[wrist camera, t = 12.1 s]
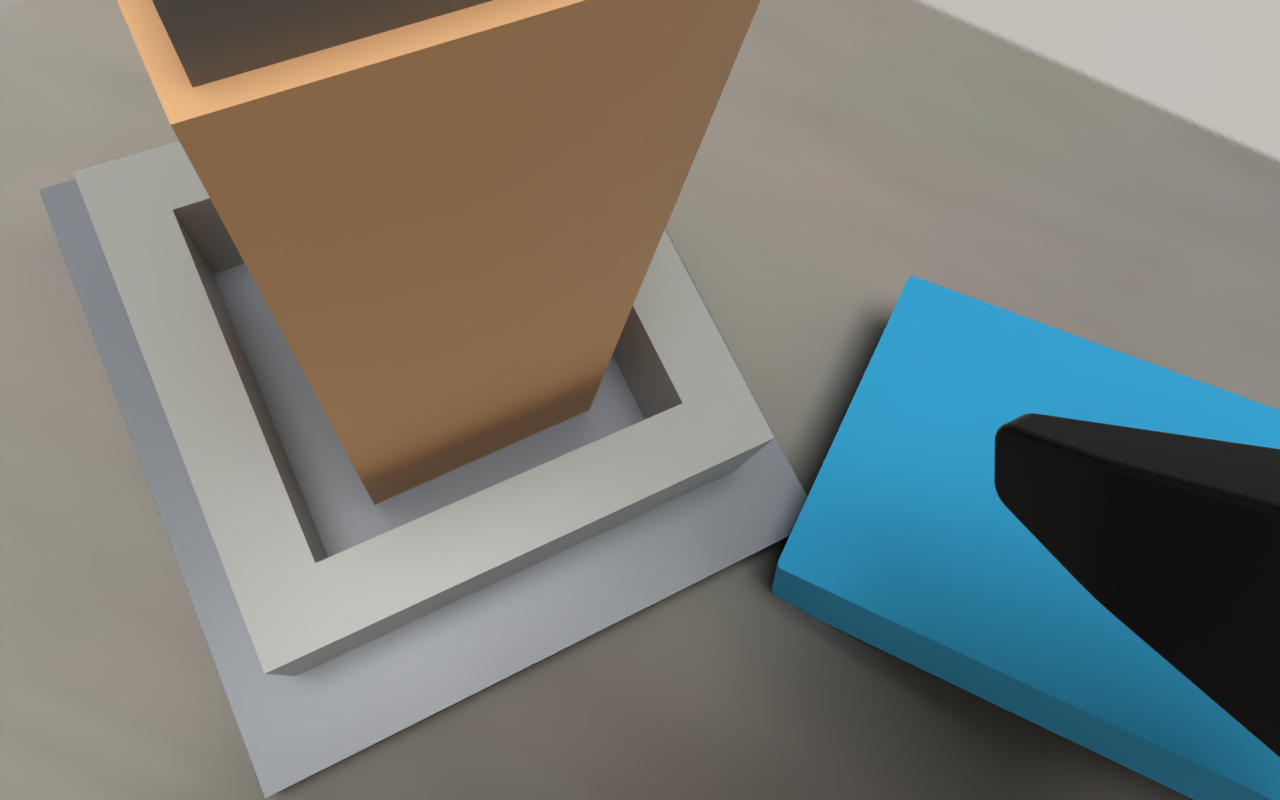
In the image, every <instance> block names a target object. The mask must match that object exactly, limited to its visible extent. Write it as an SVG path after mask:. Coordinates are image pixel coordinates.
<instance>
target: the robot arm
mask: <svg viewBox="0 0 1280 800" xmlns="http://www.w3.org/2000/svg"><path fill="white" fill-rule="evenodd" d="M994 484H995V489H996V492H997V494H998V496H999V498H1000V500H1001V501H1002V503H1003V504H1004V505H1005V506H1006V507H1007V508H1008V509H1009V511H1010V512H1011V513H1012V514H1013V515H1014V516H1015V517H1016V518H1017V519H1018V520H1019V521H1020V522H1021V523H1022V524H1023V525H1024V526H1025V527H1026V528H1027V529H1028V530H1029V531H1030V532H1031V533H1032V534H1033V535H1034V537H1035V538H1036V539H1037V540H1038V541H1039V542H1040V543H1041V544H1042V545H1043V546H1044V547H1045V548H1046V549H1047V550H1048V551H1049V552H1050V553H1051V554H1052V555H1053V556H1054V557H1055V558H1056V559H1057V560H1058V561H1059V562H1060V564H1061V565H1062V566H1063V567H1064V568H1065V569H1066V570H1067V571H1068V572H1069V573H1070V574H1071V575H1072V576H1073V577H1074V578H1075V579H1076V580H1077V581H1078V582H1079V583H1080V584H1081V585H1082V586H1083V587H1084V588H1085V589H1086V590H1087V591H1088V592H1089V593H1090V594H1091V595H1092V596H1093V597H1094V598H1095V599H1096V600H1097V601H1098V602H1099V603H1100V604H1102V605H1103V606H1104V607H1105V608H1106V609H1107V610H1108V611H1109V612H1110V613H1112V614H1113V615H1114V616H1115V617H1116V618H1117V619H1119V620H1120V621H1121V622H1122V623H1123V624H1124V625H1126V626H1127V627H1128V628H1129V629H1130V630H1131V631H1133V632H1134V633H1135V634H1136V635H1137V636H1138V637H1140V638H1141V639H1142V640H1143V641H1144V642H1145V643H1147V644H1148V645H1149V646H1150V647H1151V648H1152V649H1154V650H1155V651H1156V652H1157V653H1158V654H1159V655H1161V656H1162V657H1163V658H1164V659H1165V660H1166V661H1168V662H1169V663H1170V664H1171V665H1172V666H1173V667H1175V668H1176V669H1177V670H1178V671H1179V672H1180V673H1182V674H1183V675H1184V676H1185V677H1186V678H1187V679H1189V680H1190V681H1191V682H1192V683H1193V684H1194V685H1196V686H1197V687H1198V688H1199V689H1200V690H1201V691H1203V692H1204V693H1205V694H1206V695H1207V696H1208V697H1210V698H1211V699H1212V700H1213V701H1214V702H1215V703H1217V704H1218V705H1219V706H1220V707H1221V708H1222V709H1224V710H1225V711H1226V712H1227V713H1228V714H1229V715H1231V716H1232V717H1233V718H1234V719H1235V720H1236V721H1238V722H1239V723H1240V724H1241V725H1242V726H1243V727H1245V728H1246V729H1247V730H1248V731H1249V732H1250V733H1252V734H1253V735H1254V736H1255V737H1256V738H1257V739H1259V740H1260V741H1261V742H1262V743H1263V744H1264V745H1266V746H1267V747H1268V748H1269V749H1270V750H1271V751H1273V752H1274V753H1275V754H1276V755H1277V756H1278V757H1280V449H1276V448H1269V447H1262V446H1255V445H1249V444H1242V443H1235V442H1228V441H1221V440H1214V439H1207V438H1200V437H1194V436H1187V435H1180V434H1173V433H1166V432H1159V431H1152V430H1146V429H1139V428H1132V427H1125V426H1118V425H1111V424H1104V423H1098V422H1091V421H1084V420H1077V419H1070V418H1063V417H1057V416H1050V415H1043V414H1036V413H1028V414H1024V415H1022V416H1020V417H1018V418H1016V419H1014V420H1012V421H1010V422H1008V423H1006V424H1004V425H1002V426H1001V427H999V428H998V430H997V432H996V434H995V451H994Z"/></svg>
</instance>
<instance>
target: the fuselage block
mask: <svg viewBox="0 0 1280 800" xmlns="http://www.w3.org/2000/svg"><path fill="white" fill-rule="evenodd" d="M117 2H118V4H119V7H120V9H121V11H122V14H123V16H124V18H125V21H126V23H127V25H128V27H129V30H130V32H131V34H132V37H133V39H134V41H135V44H136V46H137V48H138V51H139V53H140V55H141V57H142V60H143V62H144V64H145V67H146V69H147V71H148V74H149V76H150V78H151V80H152V83H153V85H154V87H155V90H156V92H157V94H158V97H159V99H160V101H161V104H162V106H163V108H164V110H165V113H166V115H167V117H168V120H169V122H170V124H171V126H172V128H173V130H174V132H175V134H176V136H177V137H178V139H179V141H180V143H181V145H182V147H183V149H184V150H185V152H186V154H187V156H188V158H189V160H190V162H191V164H192V165H193V167H194V169H195V171H196V173H197V175H198V177H199V178H200V180H201V182H202V184H203V186H204V188H205V190H206V192H207V193H208V195H209V197H210V199H211V201H212V203H213V205H214V206H215V208H216V210H217V212H218V214H219V216H220V218H221V220H222V221H223V223H224V225H225V227H226V229H227V231H228V233H229V234H230V236H231V238H232V240H233V242H234V244H235V246H236V248H237V249H238V251H239V253H240V255H241V257H242V259H243V261H244V262H245V264H246V266H247V268H248V270H249V272H250V274H251V276H252V277H253V279H254V281H255V283H256V285H257V287H258V289H259V290H260V292H261V294H262V296H263V298H264V300H265V302H266V304H267V305H268V307H269V309H270V311H271V313H272V315H273V317H274V318H275V320H276V322H277V324H278V326H279V328H280V330H281V332H282V333H283V335H284V337H285V339H286V341H287V343H288V345H289V346H290V348H291V350H292V352H293V354H294V356H295V358H296V360H297V361H298V363H299V365H300V367H301V369H302V371H303V373H304V374H305V376H306V378H307V380H308V382H309V384H310V386H311V388H312V389H313V391H314V393H315V395H316V397H317V399H318V401H319V403H320V404H321V406H322V408H323V410H324V412H325V414H326V416H327V417H328V419H329V421H330V423H331V425H332V427H333V429H334V431H335V432H336V434H337V436H338V438H339V440H340V442H341V444H342V445H343V447H344V449H345V451H346V453H347V455H348V457H349V459H350V460H351V462H352V464H353V466H354V468H355V470H356V472H357V473H358V475H359V477H360V479H361V481H362V483H363V485H364V487H365V488H366V490H367V492H368V494H369V496H370V498H371V500H372V501H373V503H374V505H376V504H378V503H380V502H382V501H385V500H387V499H389V498H391V497H394V496H396V495H398V494H400V493H403V492H405V491H407V490H410V489H412V488H414V487H416V486H419V485H421V484H423V483H425V482H428V481H430V480H432V479H434V478H437V477H439V476H441V475H443V474H446V473H448V472H450V471H452V470H455V469H457V468H459V467H461V466H464V465H466V464H468V463H471V462H473V461H475V460H477V459H480V458H482V457H484V456H486V455H489V454H491V453H493V452H495V451H498V450H500V449H502V448H504V447H507V446H509V445H511V444H513V443H516V442H518V441H520V440H523V439H525V438H527V437H529V436H532V435H534V434H536V433H538V432H541V431H543V430H545V429H547V428H550V427H552V426H554V425H556V424H559V423H561V422H563V421H565V420H568V419H570V418H572V417H574V416H577V415H579V414H581V413H584V412H586V411H588V410H589V409H590V407H591V405H592V402H593V400H594V397H595V395H596V393H597V390H598V388H599V385H600V383H601V381H602V378H603V376H604V373H605V371H606V369H607V366H608V364H609V361H610V359H611V357H612V354H613V352H614V349H615V347H616V345H617V342H618V340H619V337H620V335H621V333H622V330H623V328H624V325H625V323H626V321H627V318H628V316H629V314H630V311H631V309H632V306H633V304H634V302H635V299H636V297H637V294H638V292H639V290H640V287H641V285H642V282H643V280H644V278H645V275H646V273H647V270H648V268H649V266H650V263H651V261H652V258H653V256H654V254H655V251H656V249H657V246H658V244H659V242H660V239H661V237H662V234H663V232H664V230H665V227H666V225H667V222H668V220H669V218H670V215H671V213H672V210H673V208H674V206H675V203H676V201H677V198H678V196H679V194H680V191H681V189H682V187H683V184H684V182H685V179H686V177H687V175H688V172H689V170H690V167H691V165H692V163H693V160H694V158H695V155H696V153H697V151H698V148H699V146H700V143H701V141H702V139H703V136H704V134H705V131H706V129H707V127H708V124H709V122H710V119H711V117H712V115H713V112H714V110H715V107H716V105H717V103H718V100H719V98H720V95H721V93H722V91H723V88H724V86H725V83H726V81H727V79H728V76H729V74H730V71H731V69H732V67H733V64H734V62H735V60H736V57H737V55H738V52H739V50H740V48H741V45H742V43H743V40H744V38H745V36H746V33H747V31H748V28H749V26H750V24H751V21H752V19H753V16H754V14H755V12H756V9H757V7H758V4H759V2H760V0H117Z"/></svg>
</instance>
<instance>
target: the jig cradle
mask: <svg viewBox="0 0 1280 800" xmlns="http://www.w3.org/2000/svg"><path fill="white" fill-rule="evenodd" d="M73 173H74V176H75V178H76V179H74V180H71V181H67V182H64V183H61V184H57V185H54V186H50V187H47V188H44V189H40V190H39V191H40V193H41V196H42V199H43V201H44V204H45V207H46V209H47V212H48V215H49V218H50V220H51V223H52V226H53V228H54V231H55V234H56V236H57V239H58V242H59V244H60V247H61V250H62V253H63V255H64V258H65V261H66V263H67V266H68V269H69V271H70V274H71V277H72V279H73V282H74V285H75V288H76V290H77V293H78V296H79V298H80V301H81V304H82V306H83V309H84V312H85V315H86V317H87V320H88V323H89V325H90V328H91V331H92V333H93V336H94V339H95V341H96V344H97V347H98V350H99V352H100V355H101V358H102V360H103V363H104V366H105V368H106V371H107V374H108V376H109V379H110V382H111V385H112V387H113V390H114V393H115V395H116V398H117V401H118V403H119V406H120V409H121V412H122V414H123V417H124V420H125V422H126V425H127V428H128V430H129V433H130V436H131V438H132V441H133V444H134V447H135V449H136V452H137V455H138V457H139V460H140V463H141V465H142V468H143V471H144V474H145V476H146V479H147V482H148V484H149V487H150V490H151V492H152V495H153V498H154V500H155V503H156V506H157V509H158V511H159V514H160V517H161V519H162V522H163V525H164V527H165V530H166V533H167V535H168V538H169V541H170V544H171V546H172V549H173V552H174V554H175V557H176V560H177V562H178V565H179V568H180V571H181V573H182V576H183V579H184V581H185V584H186V587H187V589H188V592H189V595H190V597H191V600H192V603H193V606H194V608H195V611H196V614H197V616H198V619H199V622H200V624H201V627H202V630H203V632H204V635H205V638H206V641H207V643H208V646H209V649H210V651H211V654H212V657H213V659H214V662H215V665H216V668H217V670H218V673H219V676H220V678H221V681H222V684H223V686H224V689H225V692H226V694H227V697H228V700H229V703H230V705H231V708H232V711H233V713H234V716H235V719H236V721H237V724H238V727H239V729H240V732H241V735H242V738H243V740H244V743H245V746H246V748H247V751H248V754H249V756H250V759H251V762H252V765H253V767H254V770H255V773H256V775H257V778H258V781H259V783H260V786H261V789H262V791H263V794H264V797H265V798H267V797H269V796H271V795H273V794H275V793H277V792H279V791H281V790H283V789H285V788H287V787H289V786H291V785H293V784H295V783H297V782H299V781H301V780H303V779H305V778H307V777H309V776H311V775H313V774H315V773H317V772H319V771H321V770H323V769H325V768H327V767H329V766H331V765H333V764H335V763H337V762H339V761H341V760H343V759H345V758H347V757H349V756H351V755H353V754H355V753H357V752H359V751H361V750H363V749H365V748H367V747H369V746H371V745H373V744H375V743H377V742H379V741H381V740H383V739H385V738H387V737H389V736H391V735H393V734H395V733H397V732H399V731H401V730H403V729H405V728H407V727H409V726H411V725H413V724H415V723H417V722H419V721H421V720H423V719H425V718H427V717H429V716H431V715H433V714H435V713H437V712H439V711H441V710H443V709H445V708H447V707H449V706H451V705H453V704H455V703H457V702H459V701H461V700H463V699H465V698H467V697H469V696H471V695H473V694H475V693H477V692H479V691H481V690H483V689H485V688H487V687H489V686H491V685H493V684H495V683H497V682H499V681H500V680H502V679H504V678H506V677H508V676H510V675H512V674H514V673H516V672H518V671H520V670H522V669H524V668H526V667H528V666H530V665H532V664H534V663H536V662H538V661H540V660H542V659H544V658H546V657H548V656H550V655H552V654H554V653H556V652H558V651H560V650H562V649H564V648H566V647H568V646H570V645H572V644H574V643H576V642H578V641H580V640H582V639H584V638H586V637H588V636H590V635H592V634H594V633H596V632H598V631H600V630H602V629H604V628H606V627H608V626H610V625H612V624H614V623H616V622H618V621H620V620H622V619H624V618H626V617H628V616H630V615H632V614H634V613H636V612H638V611H640V610H642V609H644V608H646V607H648V606H650V605H652V604H654V603H656V602H658V601H660V600H662V599H664V598H666V597H668V596H670V595H672V594H674V593H676V592H678V591H680V590H682V589H684V588H686V587H688V586H690V585H692V584H694V583H696V582H698V581H700V580H702V579H704V578H706V577H708V576H710V575H712V574H714V573H716V572H718V571H720V570H722V569H724V568H726V567H728V566H730V565H732V564H734V563H736V562H738V561H740V560H742V559H744V558H746V557H748V556H750V555H752V554H754V553H756V552H758V551H760V550H762V549H764V548H766V547H768V546H770V545H772V544H774V543H776V542H778V541H780V540H782V539H784V538H786V537H788V536H790V534H791V532H792V530H793V528H794V526H795V523H796V521H797V519H798V517H799V515H800V512H801V510H802V508H803V506H804V504H805V502H806V499H807V495H806V493H805V491H804V489H803V487H802V486H801V484H800V482H799V480H798V478H797V476H796V474H795V472H794V470H793V469H792V467H791V465H790V463H789V461H788V459H787V457H786V455H785V453H784V451H783V450H782V448H781V446H780V444H779V442H778V440H777V438H776V436H775V434H774V433H773V431H772V429H771V427H770V425H769V423H768V421H767V419H766V417H765V415H764V414H763V412H762V410H761V408H760V406H759V404H758V402H757V400H756V398H755V396H754V395H753V393H752V391H751V389H750V387H749V385H748V383H747V381H746V379H745V378H744V376H743V374H742V372H741V370H740V368H739V366H738V364H737V362H736V360H735V359H734V357H733V355H732V353H731V351H730V349H729V347H728V345H727V343H726V342H725V340H724V338H723V336H722V334H721V332H720V330H719V328H718V326H717V324H716V323H715V321H714V319H713V317H712V315H711V313H710V311H709V309H708V307H707V306H706V304H705V302H704V300H703V298H702V296H701V294H700V292H699V290H698V288H697V287H696V285H695V283H694V281H693V279H692V277H691V275H690V273H689V271H688V269H687V268H686V266H685V264H684V262H683V260H682V258H681V256H680V254H679V252H678V251H677V249H676V247H675V245H674V243H673V241H672V239H671V237H670V235H669V233H668V232H667V230H666V228H665V230H664V232H663V234H662V237H661V239H660V242H659V244H658V246H657V249H656V251H655V254H654V256H653V258H652V261H651V263H650V266H649V268H648V270H647V273H646V275H645V278H644V280H643V282H642V285H641V287H640V290H639V292H638V294H637V297H636V299H635V302H634V304H633V306H632V309H631V311H630V314H629V316H628V318H627V321H626V323H625V325H624V328H623V330H622V333H621V335H620V337H619V340H618V342H617V345H616V347H615V349H614V352H613V354H612V357H611V359H610V361H609V364H608V366H607V369H606V371H605V373H604V376H603V378H602V381H601V383H600V385H599V388H598V390H597V393H596V395H595V397H594V400H593V402H592V405H591V407H590V409H589V410H588V411H586V412H584V413H581V414H579V415H577V416H574V417H572V418H570V419H568V420H565V421H563V422H561V423H559V424H556V425H554V426H552V427H550V428H547V429H545V430H543V431H541V432H538V433H536V434H534V435H532V436H529V437H527V438H525V439H523V440H520V441H518V442H516V443H513V444H511V445H509V446H507V447H504V448H502V449H500V450H498V451H495V452H493V453H491V454H489V455H486V456H484V457H482V458H480V459H477V460H475V461H473V462H471V463H468V464H466V465H464V466H461V467H459V468H457V469H455V470H452V471H450V472H448V473H446V474H443V475H441V476H439V477H437V478H434V479H432V480H430V481H428V482H425V483H423V484H421V485H419V486H416V487H414V488H412V489H410V490H407V491H405V492H403V493H400V494H398V495H396V496H394V497H391V498H389V499H387V500H385V501H382V502H380V503H378V504H376V505H374V503H373V501H372V500H371V498H370V496H369V494H368V492H367V490H366V488H365V487H364V485H363V483H362V481H361V479H360V477H359V475H358V473H357V472H356V470H355V468H354V466H353V464H352V462H351V460H350V459H349V457H348V455H347V453H346V451H345V449H344V447H343V445H342V444H341V442H340V440H339V438H338V436H337V434H336V432H335V431H334V429H333V427H332V425H331V423H330V421H329V419H328V417H327V416H326V414H325V412H324V410H323V408H322V406H321V404H320V403H319V401H318V399H317V397H316V395H315V393H314V391H313V389H312V388H311V386H310V384H309V382H308V380H307V378H306V376H305V374H304V373H303V371H302V369H301V367H300V365H299V363H298V361H297V360H296V358H295V356H294V354H293V352H292V350H291V348H290V346H289V345H288V343H287V341H286V339H285V337H284V335H283V333H282V332H281V330H280V328H279V326H278V324H277V322H276V320H275V318H274V317H273V315H272V313H271V311H270V309H269V307H268V305H267V304H266V302H265V300H264V298H263V296H262V294H261V292H260V290H259V289H258V287H257V285H256V283H255V281H254V279H253V277H252V276H251V274H250V272H249V270H248V268H247V266H246V264H245V262H244V261H243V259H242V257H241V255H240V253H239V251H238V249H237V248H236V246H235V244H234V242H233V240H232V238H231V236H230V234H229V233H228V231H227V229H226V227H225V225H224V223H223V221H222V220H221V218H220V216H219V214H218V212H217V210H216V208H215V206H214V205H213V203H212V201H211V199H210V197H209V195H208V193H207V192H206V190H205V188H204V186H203V184H202V182H201V180H200V178H199V177H198V175H197V173H196V171H195V169H194V167H193V165H192V164H191V162H190V160H189V158H188V156H187V154H186V152H185V150H184V149H183V147H182V145H181V143H180V141H177V142H174V143H171V144H167V145H164V146H160V147H157V148H153V149H150V150H147V151H143V152H140V153H136V154H133V155H129V156H126V157H123V158H119V159H116V160H112V161H109V162H105V163H102V164H99V165H95V166H92V167H88V168H85V169H81V170H78V171H75V172H73Z"/></svg>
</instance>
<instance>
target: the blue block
mask: <svg viewBox="0 0 1280 800" xmlns="http://www.w3.org/2000/svg"><path fill="white" fill-rule="evenodd" d="M1028 413H1036V414H1043V415H1050V416H1057V417H1063V418H1070V419H1077V420H1084V421H1091V422H1098V423H1104V424H1111V425H1118V426H1125V427H1132V428H1139V429H1146V430H1152V431H1159V432H1166V433H1173V434H1180V435H1187V436H1194V437H1200V438H1207V439H1214V440H1221V441H1228V442H1235V443H1242V444H1249V445H1255V446H1262V447H1269V448H1276V449H1280V410H1277V409H1274V408H1271V407H1269V406H1266V405H1263V404H1260V403H1258V402H1255V401H1252V400H1250V399H1247V398H1244V397H1241V396H1239V395H1236V394H1233V393H1230V392H1228V391H1225V390H1222V389H1220V388H1217V387H1214V386H1211V385H1209V384H1206V383H1203V382H1201V381H1198V380H1195V379H1192V378H1190V377H1187V376H1184V375H1181V374H1179V373H1176V372H1173V371H1171V370H1168V369H1165V368H1162V367H1160V366H1157V365H1154V364H1151V363H1149V362H1146V361H1143V360H1141V359H1138V358H1135V357H1132V356H1130V355H1127V354H1124V353H1122V352H1119V351H1116V350H1113V349H1111V348H1108V347H1105V346H1102V345H1100V344H1097V343H1094V342H1092V341H1089V340H1086V339H1083V338H1081V337H1078V336H1075V335H1072V334H1070V333H1067V332H1064V331H1062V330H1059V329H1056V328H1053V327H1051V326H1048V325H1045V324H1043V323H1040V322H1037V321H1034V320H1032V319H1029V318H1026V317H1023V316H1021V315H1018V314H1015V313H1013V312H1010V311H1007V310H1004V309H1002V308H999V307H996V306H993V305H991V304H988V303H985V302H983V301H980V300H977V299H974V298H972V297H969V296H966V295H964V294H961V293H958V292H955V291H953V290H950V289H947V288H944V287H942V286H939V285H936V284H934V283H931V282H928V281H925V280H923V279H920V278H917V277H914V276H912V277H910V278H908V280H907V282H906V284H905V286H904V289H903V291H902V293H901V295H900V297H899V299H898V302H897V304H896V306H895V308H894V310H893V312H892V315H891V317H890V319H889V321H888V323H887V326H886V328H885V330H884V332H883V334H882V336H881V339H880V341H879V343H878V345H877V347H876V349H875V352H874V354H873V356H872V358H871V360H870V362H869V365H868V367H867V369H866V371H865V373H864V376H863V378H862V380H861V382H860V384H859V386H858V389H857V391H856V393H855V395H854V397H853V399H852V402H851V404H850V406H849V408H848V410H847V412H846V415H845V417H844V419H843V421H842V423H841V426H840V428H839V430H838V432H837V434H836V436H835V439H834V441H833V443H832V445H831V447H830V449H829V452H828V454H827V456H826V458H825V460H824V462H823V465H822V467H821V469H820V471H819V473H818V476H817V478H816V480H815V482H814V484H813V486H812V489H811V491H810V493H809V495H808V497H807V499H806V502H805V504H804V506H803V508H802V510H801V512H800V515H799V517H798V519H797V521H796V523H795V526H794V528H793V530H792V532H791V534H790V536H789V539H788V541H787V543H786V545H785V547H784V549H783V552H782V554H781V556H780V558H779V560H778V563H777V567H776V571H775V576H774V580H773V584H772V592H773V595H775V596H777V597H779V598H780V599H782V600H784V601H786V602H788V603H789V604H791V605H793V606H795V607H797V608H798V609H800V610H802V611H804V612H806V613H807V614H809V615H811V616H813V617H815V618H816V619H818V620H820V621H822V622H824V623H826V624H828V625H830V626H832V627H834V628H837V629H839V630H841V631H843V632H845V633H847V634H849V635H851V636H853V637H855V638H857V639H859V640H862V641H864V642H866V643H868V644H870V645H872V646H874V647H876V648H878V649H880V650H882V651H885V652H887V653H889V654H891V655H893V656H895V657H897V658H899V659H901V660H903V661H905V662H907V663H910V664H912V665H914V666H916V667H918V668H920V669H922V670H924V671H926V672H928V673H930V674H933V675H935V676H937V677H939V678H941V679H943V680H945V681H947V682H949V683H951V684H953V685H955V686H958V687H960V688H962V689H964V690H966V691H968V692H970V693H972V694H974V695H976V696H978V697H981V698H983V699H985V700H987V701H989V702H991V703H993V704H995V705H997V706H999V707H1001V708H1003V709H1006V710H1008V711H1010V712H1012V713H1014V714H1016V715H1018V716H1020V717H1022V718H1024V719H1026V720H1029V721H1031V722H1033V723H1035V724H1037V725H1039V726H1041V727H1043V728H1045V729H1047V730H1049V731H1051V732H1054V733H1056V734H1058V735H1060V736H1062V737H1064V738H1066V739H1068V740H1070V741H1072V742H1074V743H1077V744H1079V745H1081V746H1083V747H1085V748H1087V749H1089V750H1091V751H1093V752H1095V753H1097V754H1099V755H1102V756H1104V757H1106V758H1108V759H1110V760H1112V761H1114V762H1116V763H1118V764H1120V765H1122V766H1125V767H1127V768H1129V769H1131V770H1133V771H1135V772H1137V773H1139V774H1141V775H1143V776H1145V777H1147V778H1150V779H1152V780H1154V781H1156V782H1158V783H1160V784H1162V785H1164V786H1166V787H1168V788H1170V789H1173V790H1175V791H1177V792H1179V793H1181V794H1183V795H1185V796H1187V797H1189V798H1191V799H1193V800H1280V757H1278V756H1277V755H1276V754H1275V753H1274V752H1273V751H1271V750H1270V749H1269V748H1268V747H1267V746H1266V745H1264V744H1263V743H1262V742H1261V741H1260V740H1259V739H1257V738H1256V737H1255V736H1254V735H1253V734H1252V733H1250V732H1249V731H1248V730H1247V729H1246V728H1245V727H1243V726H1242V725H1241V724H1240V723H1239V722H1238V721H1236V720H1235V719H1234V718H1233V717H1232V716H1231V715H1229V714H1228V713H1227V712H1226V711H1225V710H1224V709H1222V708H1221V707H1220V706H1219V705H1218V704H1217V703H1215V702H1214V701H1213V700H1212V699H1211V698H1210V697H1208V696H1207V695H1206V694H1205V693H1204V692H1203V691H1201V690H1200V689H1199V688H1198V687H1197V686H1196V685H1194V684H1193V683H1192V682H1191V681H1190V680H1189V679H1187V678H1186V677H1185V676H1184V675H1183V674H1182V673H1180V672H1179V671H1178V670H1177V669H1176V668H1175V667H1173V666H1172V665H1171V664H1170V663H1169V662H1168V661H1166V660H1165V659H1164V658H1163V657H1162V656H1161V655H1159V654H1158V653H1157V652H1156V651H1155V650H1154V649H1152V648H1151V647H1150V646H1149V645H1148V644H1147V643H1145V642H1144V641H1143V640H1142V639H1141V638H1140V637H1138V636H1137V635H1136V634H1135V633H1134V632H1133V631H1131V630H1130V629H1129V628H1128V627H1127V626H1126V625H1124V624H1123V623H1122V622H1121V621H1120V620H1119V619H1117V618H1116V617H1115V616H1114V615H1113V614H1112V613H1110V612H1109V611H1108V610H1107V609H1106V608H1105V607H1104V606H1103V605H1102V604H1100V603H1099V602H1098V601H1097V600H1096V599H1095V598H1094V597H1093V596H1092V595H1091V594H1090V593H1089V592H1088V591H1087V590H1086V589H1085V588H1084V587H1083V586H1082V585H1081V584H1080V583H1079V582H1078V581H1077V580H1076V579H1075V578H1074V577H1073V576H1072V575H1071V574H1070V573H1069V572H1068V571H1067V570H1066V569H1065V568H1064V567H1063V566H1062V565H1061V564H1060V562H1059V561H1058V560H1057V559H1056V558H1055V557H1054V556H1053V555H1052V554H1051V553H1050V552H1049V551H1048V550H1047V549H1046V548H1045V547H1044V546H1043V545H1042V544H1041V543H1040V542H1039V541H1038V540H1037V539H1036V538H1035V537H1034V535H1033V534H1032V533H1031V532H1030V531H1029V530H1028V529H1027V528H1026V527H1025V526H1024V525H1023V524H1022V523H1021V522H1020V521H1019V520H1018V519H1017V518H1016V517H1015V516H1014V515H1013V514H1012V513H1011V512H1010V511H1009V509H1008V508H1007V507H1006V506H1005V505H1004V504H1003V503H1002V501H1001V500H1000V498H999V496H998V494H997V492H996V489H995V484H994V451H995V434H996V432H997V430H998V428H999V427H1001V426H1002V425H1004V424H1006V423H1008V422H1010V421H1012V420H1014V419H1016V418H1018V417H1020V416H1022V415H1024V414H1028Z"/></svg>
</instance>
